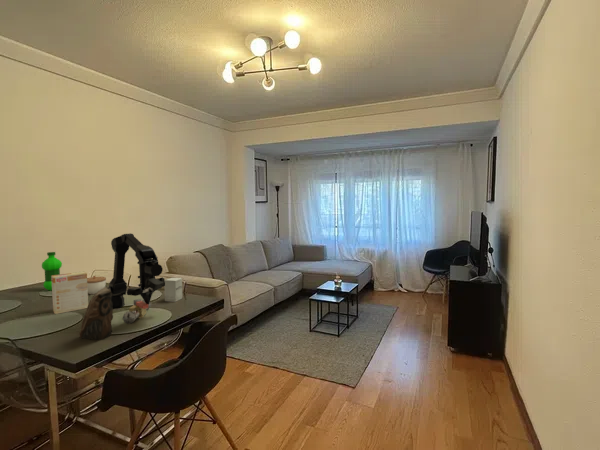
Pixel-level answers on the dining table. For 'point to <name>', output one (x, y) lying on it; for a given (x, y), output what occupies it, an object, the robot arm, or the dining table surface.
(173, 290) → the supplement box
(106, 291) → the owl
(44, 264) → the plastic bottle
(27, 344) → the dining table surface
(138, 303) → the lever
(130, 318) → the valve body
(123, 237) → the robot arm
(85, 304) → the coffeecake box
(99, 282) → the lidded bowl
